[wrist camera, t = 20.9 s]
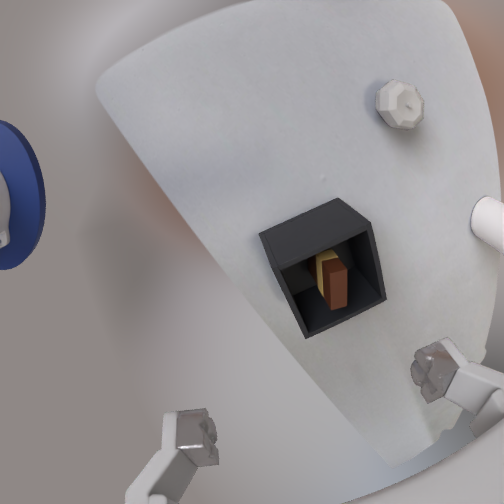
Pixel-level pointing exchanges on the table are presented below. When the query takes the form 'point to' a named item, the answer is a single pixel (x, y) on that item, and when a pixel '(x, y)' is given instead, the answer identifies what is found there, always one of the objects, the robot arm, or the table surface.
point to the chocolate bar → (329, 277)
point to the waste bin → (313, 242)
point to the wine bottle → (489, 222)
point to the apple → (400, 105)
